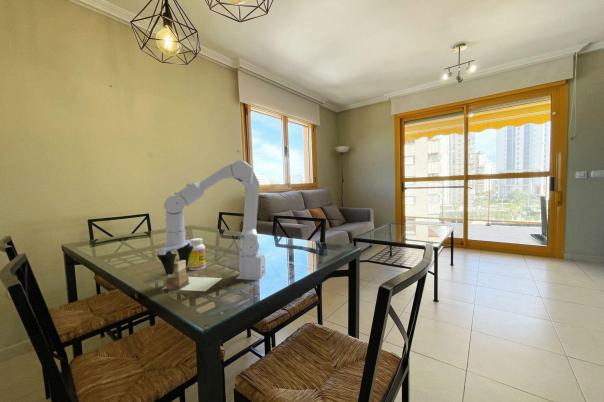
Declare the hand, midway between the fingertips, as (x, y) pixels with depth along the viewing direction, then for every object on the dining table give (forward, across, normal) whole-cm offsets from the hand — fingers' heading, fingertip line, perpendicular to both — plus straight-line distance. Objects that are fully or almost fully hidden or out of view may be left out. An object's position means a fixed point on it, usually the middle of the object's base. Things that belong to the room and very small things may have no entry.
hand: (177, 270), depth 86 cm
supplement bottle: (+6, -20, -5) cm, 22 cm away
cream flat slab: (+6, -3, +4) cm, 8 cm away
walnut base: (+6, 0, 0) cm, 6 cm away
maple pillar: (+2, 0, 0) cm, 2 cm away
